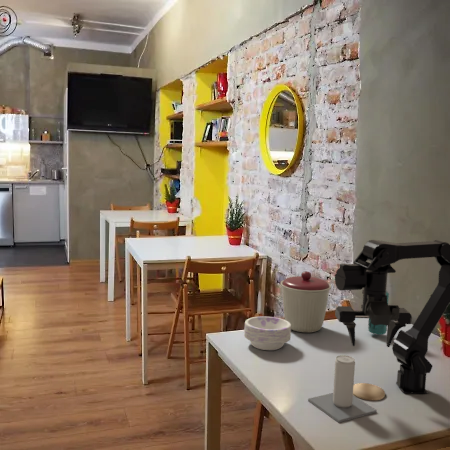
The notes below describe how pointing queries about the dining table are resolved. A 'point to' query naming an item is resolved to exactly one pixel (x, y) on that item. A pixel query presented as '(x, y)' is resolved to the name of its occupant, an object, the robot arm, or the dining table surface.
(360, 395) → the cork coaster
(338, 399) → the beverage can
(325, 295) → the canister
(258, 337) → the paper bowls
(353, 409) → the slate coaster
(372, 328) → the beverage bottle
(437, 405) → the dining table surface
